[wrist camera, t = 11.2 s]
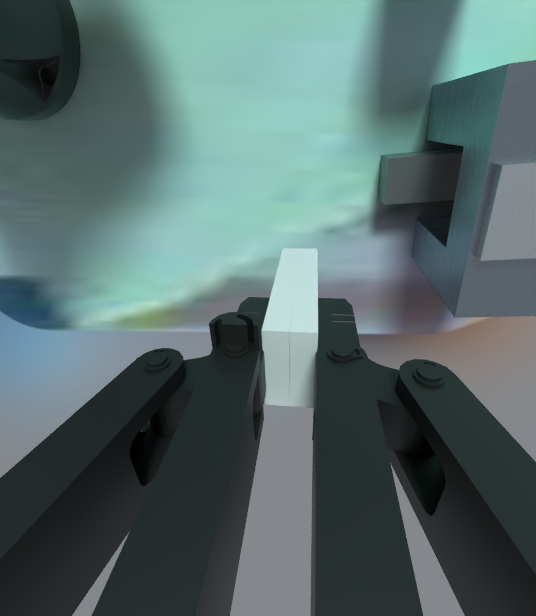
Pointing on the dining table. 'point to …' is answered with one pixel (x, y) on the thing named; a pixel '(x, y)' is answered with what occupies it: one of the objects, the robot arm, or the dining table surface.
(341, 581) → the robot arm
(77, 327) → the dining table surface
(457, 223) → the housing
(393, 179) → the plug
